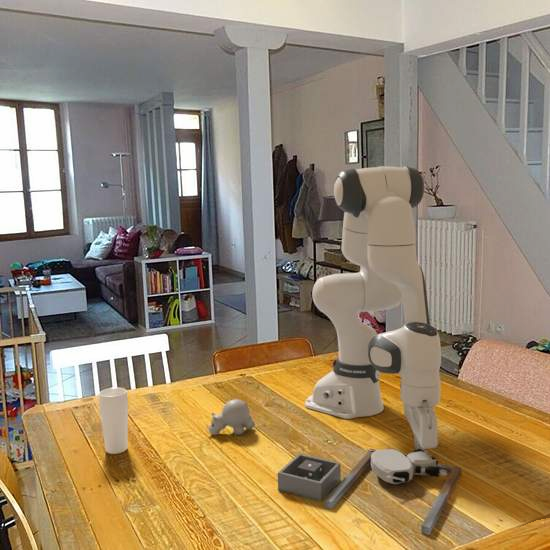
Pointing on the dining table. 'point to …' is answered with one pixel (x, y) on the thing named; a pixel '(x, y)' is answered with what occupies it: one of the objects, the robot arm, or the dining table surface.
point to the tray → (309, 487)
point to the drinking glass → (114, 419)
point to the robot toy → (404, 465)
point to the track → (434, 510)
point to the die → (310, 470)
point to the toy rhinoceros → (232, 418)
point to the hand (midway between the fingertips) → (419, 449)
